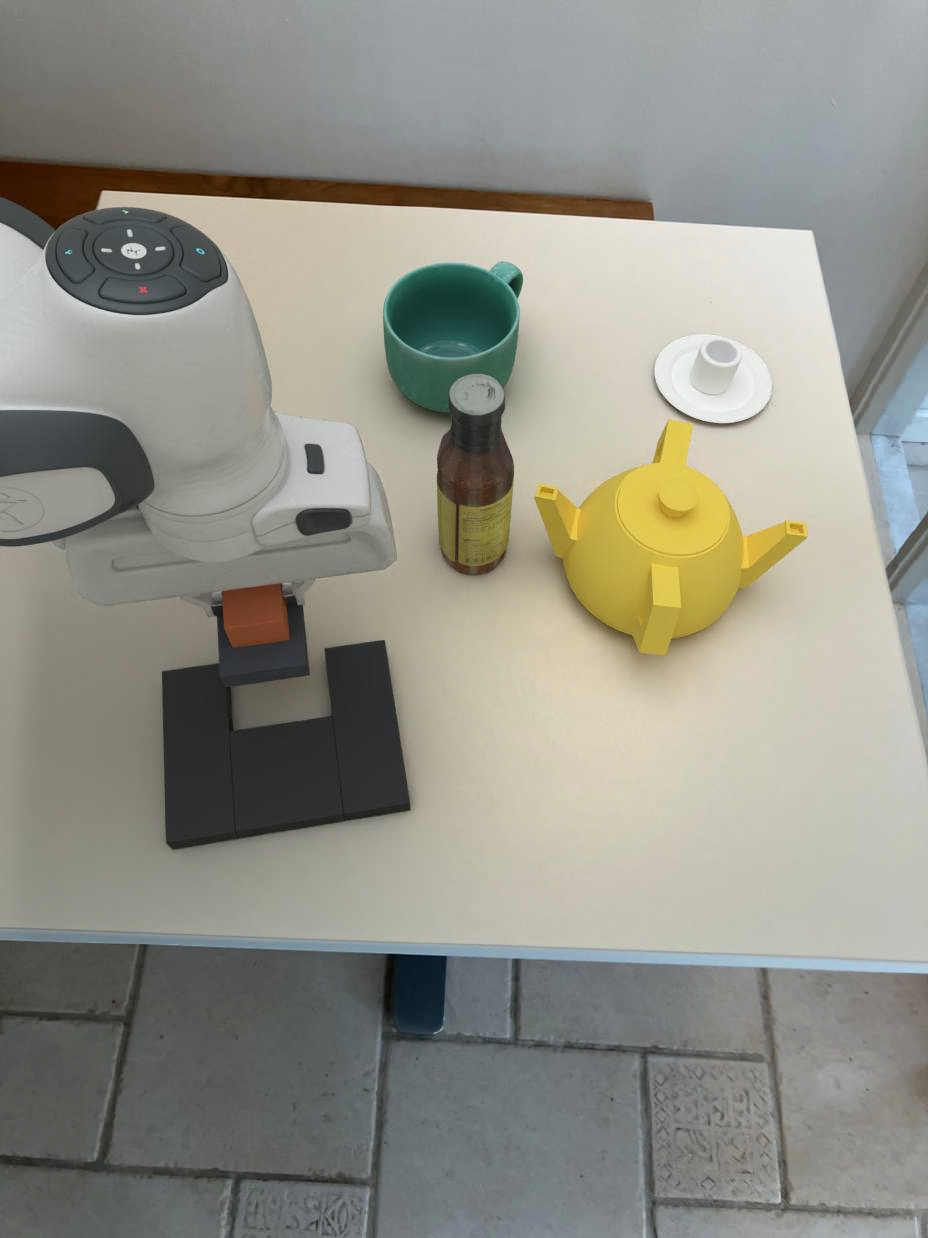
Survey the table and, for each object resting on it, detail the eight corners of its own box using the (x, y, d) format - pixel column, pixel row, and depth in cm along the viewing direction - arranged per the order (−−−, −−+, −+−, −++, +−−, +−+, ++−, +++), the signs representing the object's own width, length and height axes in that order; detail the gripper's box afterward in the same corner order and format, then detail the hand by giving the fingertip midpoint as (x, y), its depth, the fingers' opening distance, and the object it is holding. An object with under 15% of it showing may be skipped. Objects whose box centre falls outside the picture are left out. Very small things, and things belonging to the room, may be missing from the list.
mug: (449, 451, 85) (452, 381, 77) (360, 380, 89) (353, 306, 80) (562, 362, 91) (576, 288, 83) (473, 299, 95) (478, 223, 87)
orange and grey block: (225, 688, 63) (209, 657, 58) (219, 569, 67) (204, 532, 63) (310, 676, 63) (301, 644, 59) (298, 559, 68) (289, 522, 64)
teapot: (655, 469, 85) (687, 380, 74) (778, 593, 79) (833, 516, 68) (516, 552, 80) (530, 469, 69) (636, 691, 74) (672, 625, 63)
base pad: (172, 850, 66) (165, 843, 64) (167, 681, 73) (161, 670, 71) (410, 810, 68) (410, 803, 67) (385, 649, 75) (384, 639, 73)
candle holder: (774, 352, 93) (789, 321, 89) (764, 439, 87) (779, 409, 84) (661, 329, 94) (671, 296, 90) (644, 412, 88) (654, 382, 85)
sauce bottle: (519, 539, 81) (545, 385, 63) (485, 589, 78) (502, 443, 60) (457, 507, 82) (466, 348, 64) (421, 556, 79) (421, 404, 62)
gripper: (23, 552, 48) (106, 662, 60) (396, 505, 50) (403, 621, 63) (30, 461, 51) (107, 584, 63) (382, 421, 53) (391, 547, 65)
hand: (257, 602), depth 63 cm, fingers closed on orange and grey block, 4 cm apart
